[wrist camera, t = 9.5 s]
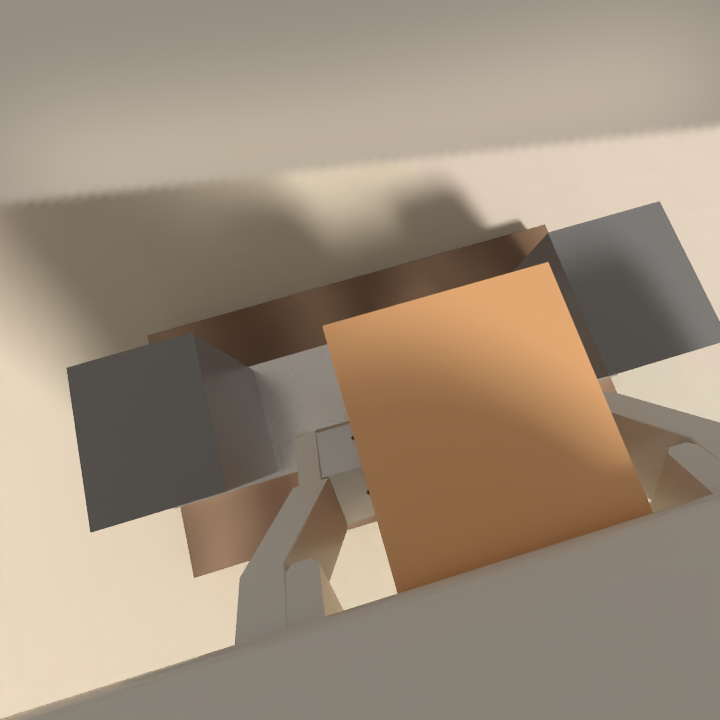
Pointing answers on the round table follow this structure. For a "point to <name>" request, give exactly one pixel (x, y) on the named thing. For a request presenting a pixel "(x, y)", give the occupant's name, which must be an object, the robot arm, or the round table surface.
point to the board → (303, 332)
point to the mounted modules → (242, 399)
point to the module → (480, 426)
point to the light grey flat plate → (297, 403)
